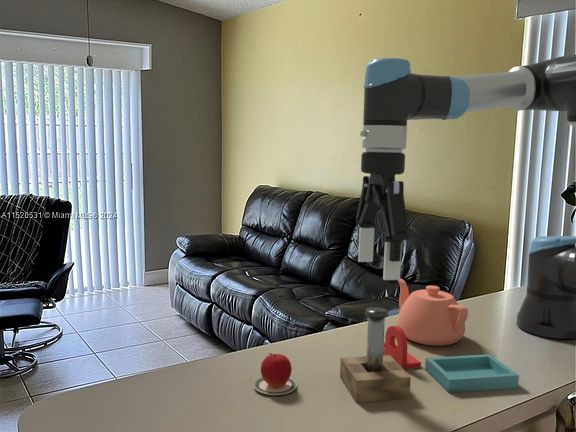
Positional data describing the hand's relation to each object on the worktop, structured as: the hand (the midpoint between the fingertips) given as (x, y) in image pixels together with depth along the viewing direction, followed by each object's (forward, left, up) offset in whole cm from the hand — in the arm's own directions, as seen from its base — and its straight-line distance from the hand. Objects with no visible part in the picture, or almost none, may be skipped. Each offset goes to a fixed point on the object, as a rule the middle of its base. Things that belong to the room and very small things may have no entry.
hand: (377, 270), depth 97 cm
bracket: (-10, -13, -23) cm, 28 cm away
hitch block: (0, 0, -22) cm, 22 cm away
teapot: (-22, -24, -23) cm, 39 cm away
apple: (+18, -3, -23) cm, 29 cm away
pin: (0, 0, -22) cm, 22 cm away
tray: (-20, -1, -22) cm, 30 cm away
